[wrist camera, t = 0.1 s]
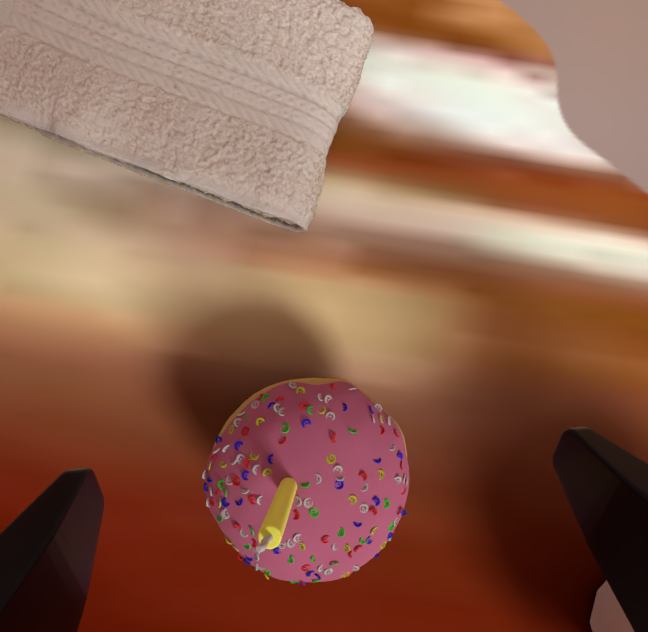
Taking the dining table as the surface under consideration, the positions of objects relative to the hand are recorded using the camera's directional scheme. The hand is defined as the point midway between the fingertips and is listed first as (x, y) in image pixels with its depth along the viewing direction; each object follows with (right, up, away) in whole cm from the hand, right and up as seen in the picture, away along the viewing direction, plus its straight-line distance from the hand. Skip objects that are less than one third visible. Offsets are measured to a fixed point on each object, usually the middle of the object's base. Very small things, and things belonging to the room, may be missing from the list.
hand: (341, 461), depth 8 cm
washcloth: (-8, +15, +15) cm, 23 cm away
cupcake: (-1, -4, +15) cm, 16 cm away
